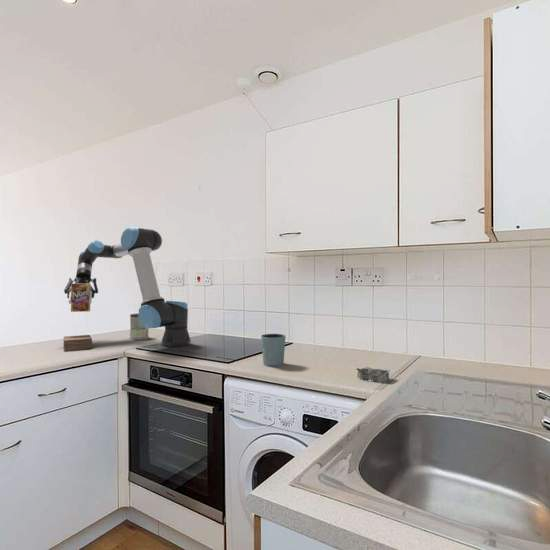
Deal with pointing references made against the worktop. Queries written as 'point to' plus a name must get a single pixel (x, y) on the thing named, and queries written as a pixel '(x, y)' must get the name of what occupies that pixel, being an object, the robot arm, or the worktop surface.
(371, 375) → the mottled grey-green oblong lump
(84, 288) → the candy box
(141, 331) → the coffee can
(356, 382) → the worktop surface
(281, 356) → the teal cup
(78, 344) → the walnut stand
